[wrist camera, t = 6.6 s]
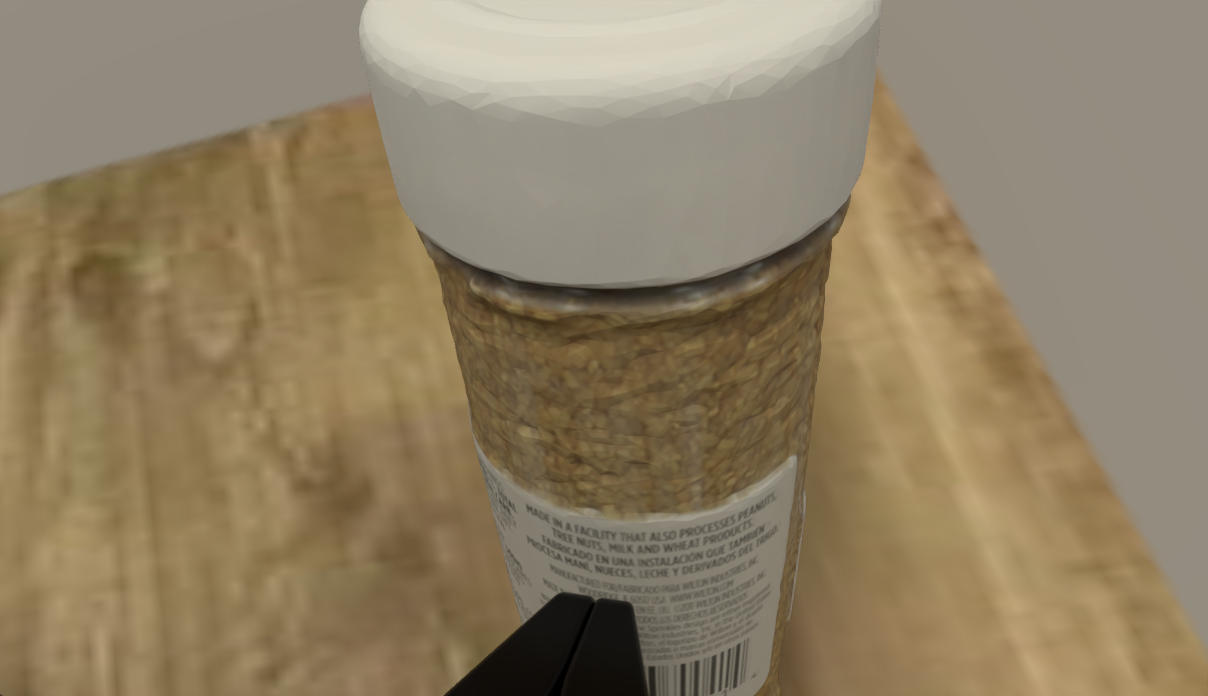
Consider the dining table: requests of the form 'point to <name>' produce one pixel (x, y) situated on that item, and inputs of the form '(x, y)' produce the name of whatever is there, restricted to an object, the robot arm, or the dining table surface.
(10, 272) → the dining table surface
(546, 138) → the sprinkles bottle
